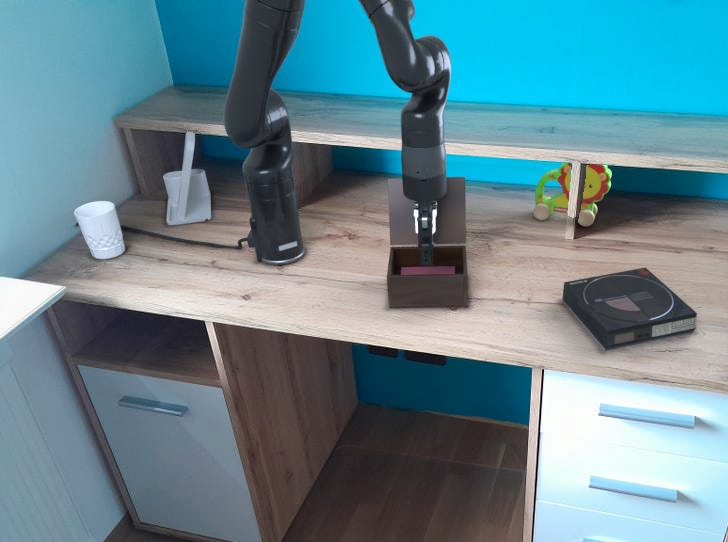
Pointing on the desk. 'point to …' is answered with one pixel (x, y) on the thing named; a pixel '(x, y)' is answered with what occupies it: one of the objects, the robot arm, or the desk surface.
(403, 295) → the walnut box
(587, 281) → the portable cd player
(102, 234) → the white cup
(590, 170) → the toy lion
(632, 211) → the desk surface
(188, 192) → the white dustpan scoop
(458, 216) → the box lid
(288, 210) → the robot arm
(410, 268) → the stepped pink block
